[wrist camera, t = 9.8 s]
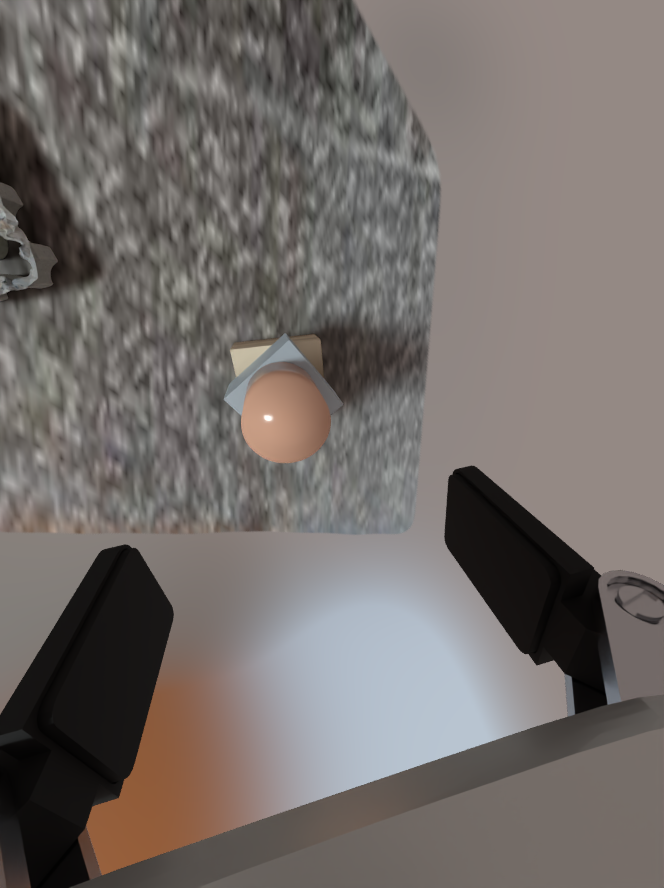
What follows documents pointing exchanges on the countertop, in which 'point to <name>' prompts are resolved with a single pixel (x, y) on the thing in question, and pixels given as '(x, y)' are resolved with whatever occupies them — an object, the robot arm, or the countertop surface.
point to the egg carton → (21, 248)
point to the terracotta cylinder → (284, 413)
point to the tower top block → (280, 352)
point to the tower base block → (252, 350)
